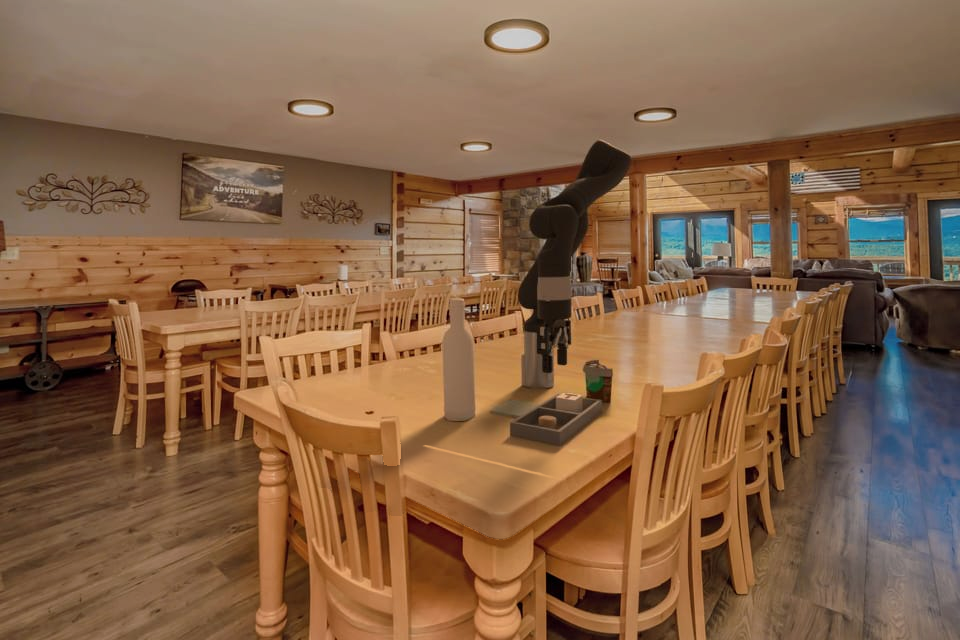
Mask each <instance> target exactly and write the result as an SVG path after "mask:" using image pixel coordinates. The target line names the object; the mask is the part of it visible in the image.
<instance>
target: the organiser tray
mask: <svg viewBox="0 0 960 640" xmlns="http://www.w3.org/2000/svg"><path fill="white" fill-rule="evenodd" d="M561 394H562V393H557V394H555V395H554V396H552V397H550V398H549V399H547V400H546V401H544V402H541V403H539V404H540V405H538V406H537V407H535V408H533V409H532V410H530V411H528V412H526V413H525V414H523V415H521V416H520V417H518V418H515V419H513V420H511V421H509V436H510V437H514V438H519V439H524V440H527V441H533V442H538V443H543V444H547V445H551V446H552V445H553V446H556V447H561V446H562V445H563V444H565V443H566V442H567V441H568V440H569V439H571V438H572V437H573V436H574V435H576V434H577V433H578V432H580V431H581V430H582V429H583V428H584V427H585V426H587V425H588V424H589V423H591V422H592V421H593V420H594V419H595V418H597V416H599V415H600V414H601V413H603V412H602V410H603V409H602V408H603V404H602V403H603V402H602V400H597V399H590V398H587V397H583V409H582V413H574V412H568V411H562V410H556V397H557V396H559V395H561ZM541 416H553V417H555V418H556V430H555V429H549V428H544V427H539V417H541Z"/></svg>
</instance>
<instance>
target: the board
mask: <svg viewBox="0 0 960 640" xmlns="http://www.w3.org/2000/svg"><path fill="white" fill-rule="evenodd" d="M540 404H541V403H534V402H528V401H523V400H515V399H508V400H507V401H505V402H503V403H501V404H499V405H498V406H496V407H494V408H491V409H489V413H490V414H494V415H498V416H504V417H510V418H515V419H516V418H518V417H520V416H521V415H523V414H525V413H526V412H528V411H530V410H532V409H533V408H535V407H537V406H538V405H540Z"/></svg>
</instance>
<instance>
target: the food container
mask: <svg viewBox="0 0 960 640" xmlns="http://www.w3.org/2000/svg"><path fill="white" fill-rule="evenodd" d="M582 372H583V373H584V376H585V388H586V389H585V391H586V398H590V399H597V400H602V403H608V404H609V403H612V389H613V388H612V384H613V377H614V372H613V368H607V367H606V366H605V365H603V364H601V363H600V360H599V359H593V360H588V361H585V363H584V364H583V367H582Z"/></svg>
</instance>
